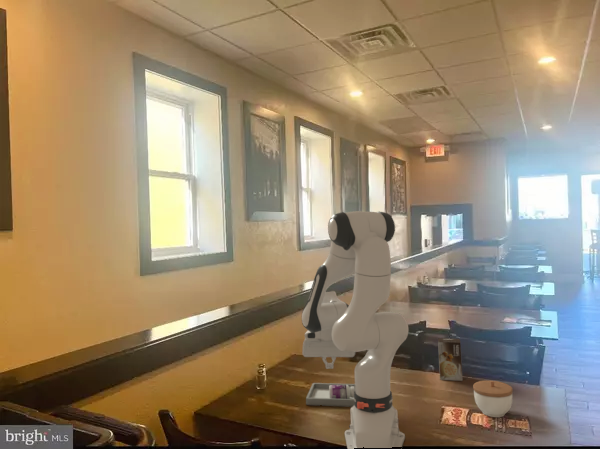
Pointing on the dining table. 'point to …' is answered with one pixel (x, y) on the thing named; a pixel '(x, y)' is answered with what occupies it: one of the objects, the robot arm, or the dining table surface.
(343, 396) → the pill bottle
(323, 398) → the grey tray
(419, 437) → the dining table surface
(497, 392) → the lidded bowl
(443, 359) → the food box
